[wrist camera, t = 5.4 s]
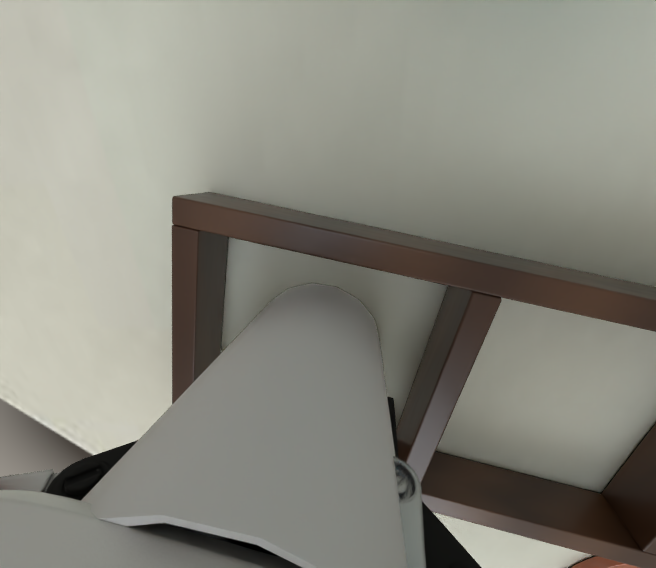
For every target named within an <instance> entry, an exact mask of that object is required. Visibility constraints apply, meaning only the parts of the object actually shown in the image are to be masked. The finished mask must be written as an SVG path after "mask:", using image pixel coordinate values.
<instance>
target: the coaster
mask: <svg viewBox="0 0 656 568" xmlns="http://www.w3.org/2000/svg"><path fill="white" fill-rule="evenodd" d="M571 568H640V567H636V566H632V565H629V564H625V563H621V562H617V561H614V560H610V559H606V558H602V557H599V556H595V557H592V558H589V559H587V560H585V561H582V562H580V563H578V564H576V565H574V566H573V567H571Z"/></svg>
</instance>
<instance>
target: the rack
mask: <svg viewBox="0 0 656 568" xmlns="http://www.w3.org/2000/svg"><path fill="white" fill-rule="evenodd" d="M172 223H173V224H174V225H172V404H173V403H174V402H175V401H176V400H177V399H178V398H179V397H180V396H181V395H182V394H183V393H184V392H185V391H186V390H187V389H188V388H189V387H190V385H191V384H192V383H193V382H194V381H195V380H196V379H197V378H198V377H199V376H200V375H201V374H202V373H203V372H204V371H205V370H206V369H207V368H208V367H209V366H210V364H211V363H212V362H213V361H214V360H215V359H216V358H217V357H218V356H219V355H220V351H221V336H222V322H223V307H224V292H225V277H226V262H227V247H228V237H232V238H236V239H241V240H245V241H250V242H254V243H259V244H263V245H268V246H272V247H277V248H281V249H286V250H290V251H295V252H299V253H304V254H308V255H313V256H317V257H322V258H326V259H331V260H335V261H340V262H344V263H349V264H353V265H358V266H362V267H367V268H371V269H376V270H380V271H385V272H389V273H394V274H398V275H403V276H407V277H412V278H416V279H421V280H425V281H430V282H434V283H439V284H443V285H448V289H447V292H446V294H445V297H444V300H443V303H442V305H441V308H440V311H439V314H438V316H437V319H436V322H435V325H434V328H433V330H432V333H431V336H430V339H429V341H428V344H427V347H426V350H425V352H424V355H423V358H422V361H421V364H420V366H419V369H418V372H417V375H416V377H415V380H414V383H413V386H412V388H411V391H410V394H409V397H408V400H407V402H406V405H405V408H404V411H403V413H402V416H401V419H400V422H399V424H398V427H397V430H396V433H397V445H398V457H399V458H400V459H402V460H403V461H405V462H406V463H407V464H409V465H410V466H411V467H412V469H413V470H414V471H415V472H416V474H417V476H418V478H419V480H420V484H421V492H422V501H423V503H424V504H425V505H426V506H427V507H428V508H429V509H430V510H431V512H435V513H439V514H442V515H446V516H450V517H453V518H457V519H461V520H465V521H468V522H472V523H476V524H480V525H483V526H487V527H491V528H494V529H498V530H502V531H506V532H509V533H513V534H517V535H521V536H524V537H528V538H532V539H535V540H539V541H543V542H547V543H550V544H554V545H558V546H561V547H565V548H569V549H573V550H576V551H580V552H584V553H588V554H591V555H595V556H599V557H602V558H606V559H610V560H614V561H617V562H621V563H625V564H629V565H632V566H636V567H640V568H656V424H655V425H654V426H653V427H652V429H651V430H650V431H649V433H648V434H647V435H646V437H645V438H644V439H643V440H642V442H641V443H640V444H639V446H638V447H637V448H636V449H635V451H634V452H633V453H632V455H631V456H630V457H629V459H628V460H627V461H626V462H625V464H624V465H623V466H622V468H621V469H620V470H619V471H618V473H617V474H616V475H615V477H614V478H613V479H612V480H611V482H610V483H609V484H608V486H607V487H606V488H605V490H604V491H603V492H602V494H599V493H595V492H592V491H588V490H584V489H580V488H576V487H572V486H568V485H564V484H560V483H556V482H553V481H549V480H545V479H541V478H537V477H533V476H529V475H525V474H521V473H517V472H514V471H510V470H506V469H502V468H498V467H494V466H490V465H486V464H482V463H478V462H474V461H471V460H467V459H463V458H459V457H455V456H451V455H447V454H443V453H439V452H435V451H436V448H437V446H438V444H439V442H440V439H441V437H442V435H443V432H444V430H445V428H446V426H447V423H448V421H449V419H450V417H451V414H452V412H453V410H454V407H455V405H456V403H457V401H458V398H459V396H460V394H461V391H462V389H463V387H464V385H465V382H466V380H467V378H468V376H469V373H470V371H471V369H472V366H473V364H474V362H475V360H476V357H477V355H478V353H479V350H480V348H481V346H482V344H483V341H484V339H485V337H486V335H487V332H488V330H489V328H490V325H491V323H492V321H493V319H494V316H495V314H496V312H497V309H498V307H499V305H500V303H501V297H502V298H506V299H511V300H515V301H520V302H524V303H529V304H534V305H538V306H543V307H547V308H552V309H556V310H561V311H565V312H570V313H574V314H579V315H583V316H588V317H592V318H597V319H601V320H606V321H610V322H615V323H619V324H624V325H628V326H633V327H637V328H642V329H646V330H651V331H655V332H656V287H653V286H648V285H643V284H639V283H634V282H629V281H624V280H620V279H615V278H610V277H606V276H601V275H596V274H592V273H587V272H582V271H578V270H573V269H568V268H563V267H559V266H554V265H549V264H545V263H540V262H535V261H531V260H526V259H521V258H517V257H512V256H507V255H502V254H498V253H493V252H488V251H484V250H479V249H474V248H470V247H465V246H460V245H456V244H451V243H446V242H442V241H437V240H432V239H427V238H423V237H418V236H413V235H409V234H404V233H399V232H395V231H390V230H385V229H381V228H376V227H371V226H366V225H362V224H357V223H352V222H348V221H343V220H338V219H334V218H329V217H324V216H320V215H315V214H310V213H306V212H301V211H296V210H291V209H287V208H282V207H277V206H273V205H268V204H263V203H259V202H254V201H249V200H245V199H240V198H235V197H230V196H226V195H221V194H216V193H212V192H205V193H197V194H188V195H180V196H173V198H172Z"/></svg>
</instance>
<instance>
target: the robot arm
mask: <svg viewBox="0 0 656 568" xmlns="http://www.w3.org/2000/svg"><path fill="white" fill-rule="evenodd" d="M387 398H388V405H389V413H390V420H391V428H392V435H393V443H394V450H395V456H393V460H394V464H395V468H396V469H395V474H396V477H397V489H398V495H399V498H400V500H399V507H400V514H401V522H402V530H403V538H404V546H405V553H406V561H407V568H481V567H480V565H479V564H478V563H477V562H476V561H475V560H474V559H473V558H472V556H471V555H470V554H469V553H468V552H467V551H466V550H465V549H464V547H463V546H462V545H461V544H460V543H459V542H458V541H457V540H456V538H455V537H454V536H453V535H452V534H451V533H450V532H449V531H448V530H447V528H446V527H445V526H444V525H443V524H442V523H441V522H440V521H439V519H438V518H437V517H436V516H435V515H434V514H433V513H432V512H431V510H430V509H429V508H428V507H427V506H426V505H425V504H424V503H423V501H422V492H421V484H420V480H419V478H418V476H417V474H416V472H415V471H414V470H413V469H412V467H411V466H410V465H409V464H407V463H406V462H405V461H403V460H402V459H400V458H399V457H398V445H397V433H396V421H395V409H394V400H393V398H391V397H387ZM137 441H138V440H137ZM137 441H135V442H132V443H129V444H126V445H123V446H120V447H117V448H114V449H111V450H108V451H105V452H102V453H99V454H97V455H94V456H91V457H88V458H85V459H82V460H81V461H78V462H76V463H74V464H72V465H70V466H69V467H67V468H66V469H64V470H63V471H62V472H60V473H54V472H53V469H51V470H44V471H37V472H31V473H24V474H17V475H10V476H3V477H0V568H302V567H300V566H298V565H296V564H294V563H292V562H290V561H288V560H286V559H283V558H280V557H277V556H273V555H270V554H266V553H263V552H260V551H256V550H253V549H249V548H246V547H243V546H239V545H236V544H232V543H229V542H225V541H222V540H219V539H215V538H212V537H208V536H205V535H201V534H198V533H195V532H191V531H188V530H184V529H181V528H178V526H176V525H172V524H168V523H157V524H146V525H136V526H122V525H118V524H115V523H111V522H108V521H104V520H100V519H97V518H96V516H95V515H94V514H93V513H92V512H91V507H92V504H91V503H87V502H83V501H81V500H82V499H83V498H84V497H85V496H86V495H87V494H88V493H89V492H90V491H91V489H92V488H93V487H94V486H95V485H96V484H97V483H98V482H99V481H100V480H101V479H102V478H103V477H104V476H105V475H106V474H107V473H108V472H109V471H110V470H111V468H112V467H113V466H114V465H115V464H116V463H117V462H118V461H119V460H120V459H121V458H122V457H123V456H124V455H125V454H126V453H127V452H128V451H129V450H130V449H131V447H132V446H133V445H134V444H135V443H136V442H137Z"/></svg>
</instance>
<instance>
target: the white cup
mask: <svg viewBox="0 0 656 568" xmlns="http://www.w3.org/2000/svg"><path fill="white" fill-rule="evenodd" d="M393 456H395V450H394V443H393V435H392V428H391V420H390V413H389V405H388V398H387V391H386V383H385V376H384V368H383V361H382V353H381V346H380V339H379V335H378V331H377V327H376V323H375V319H374V318H373V316H372V315H371V314H370V313H369V311H368V310H367V309H366V308H365V306H364V305H363V304H362V303H361V301H360V300H359V299H357V298H355V297H354V296H352V295H350V294H348V293H347V292H345V291H343V290H341V289H340V288H338V287H334V286H328V285H321V284H315V283H310V284H305V285H301V286H296V287H292V288H288V289H287V290H285V291H284V292H282V293H281V294H280V295H278V296H277V297H276V298H274V299H273V300H272V301H270V302H269V304H268V305H267V306H266V307H265V308H264V309H263V310H262V311H261V312H260V313H259V314H258V315H257V316H256V317H255V318H254V319H253V320H252V321H251V322H250V323H249V325H248V326H247V327H246V328H245V329H244V330H243V331H242V332H241V333H240V334H239V335H238V336H237V337H236V338H235V339H234V340H233V341H232V342H231V343H230V344H229V346H228V347H227V348H226V349H225V350H224V351H223V352H222V353H221V354H220V355H219V356H218V357H217V358H216V359H215V360H214V361H213V362H212V363H211V364H210V366H209V367H208V368H207V369H206V370H205V371H204V372H203V373H202V374H201V375H200V376H199V377H198V378H197V379H196V380H195V381H194V382H193V383H192V384H191V385H190V387H189V388H188V389H187V390H186V391H185V392H184V393H183V394H182V395H181V396H180V397H179V398H178V399H177V400H176V401H175V402H174V403H173V404H172V405H171V406H170V408H169V409H168V410H167V411H166V412H165V413H164V414H163V415H162V416H161V417H160V418H159V419H158V420H157V421H156V422H155V423H154V424H153V425H152V426H151V428H150V429H149V430H148V431H147V432H146V433H145V434H144V435H143V436H142V437H141V438H140V439H139V440H138V441H137V442H136V443H135V444H134V445H133V446H132V447H131V449H130V450H129V451H128V452H127V453H126V454H125V455H124V456H123V457H122V458H121V459H120V460H119V461H118V462H117V463H116V464H115V465H114V466H113V467H112V468H111V470H110V471H109V472H108V473H107V474H106V475H105V476H104V477H103V478H102V479H101V480H100V481H99V482H98V483H97V484H96V485H95V486H94V487H93V488H92V489H91V491H90V492H89V493H88V494H87V495H86V496H85V497H84V498H83V499H82V500H81V501H83V502H87V503H91V504H92V507H91V512H92V513H93V514H94V515H95V516H96V518H97V519H100V520H104V521H108V522H111V523H115V524H118V525H122V526H136V525H146V524H157V523H168V524H172V525H176V526H178V528H181V529H184V530H188V531H191V532H195V533H198V534H201V535H205V536H208V537H212V538H215V539H219V540H222V541H225V542H229V543H232V544H236V545H239V546H243V547H246V548H249V549H253V550H256V551H260V552H263V553H266V554H270V555H273V556H277V557H280V558H283V559H286V560H288V561H290V562H292V563H294V564H296V565H298V566H300V567H302V568H407V561H406V553H405V546H404V538H403V530H402V522H401V514H400V507H399V500H400V498H399V495H398V489H397V477H396V474H395V469H396V468H395V464H394V460H393Z"/></svg>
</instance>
